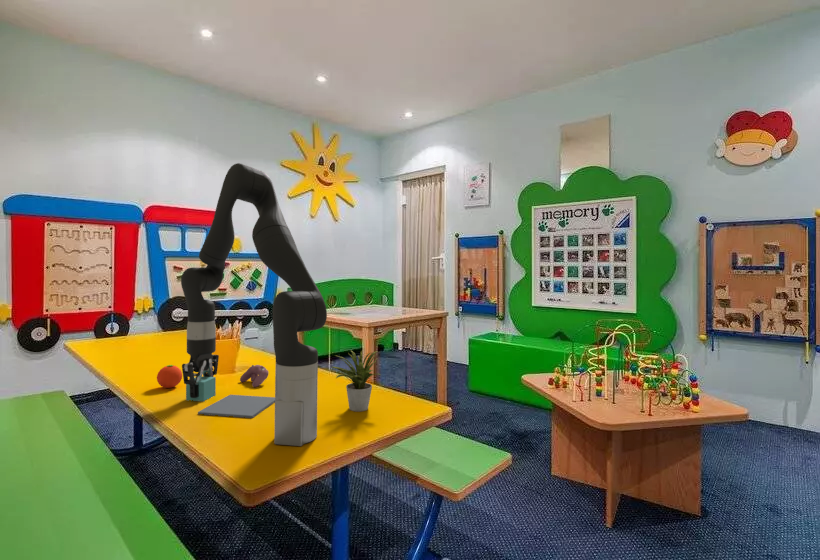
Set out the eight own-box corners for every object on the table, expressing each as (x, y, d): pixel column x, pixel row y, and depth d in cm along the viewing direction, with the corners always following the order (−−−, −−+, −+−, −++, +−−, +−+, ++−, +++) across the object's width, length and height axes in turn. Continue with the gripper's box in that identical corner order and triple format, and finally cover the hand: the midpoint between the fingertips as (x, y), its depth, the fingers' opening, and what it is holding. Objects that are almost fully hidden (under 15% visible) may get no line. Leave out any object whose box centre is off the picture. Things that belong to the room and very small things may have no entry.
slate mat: (252, 418, 106) (252, 415, 106) (197, 414, 108) (197, 412, 108) (278, 399, 121) (278, 397, 121) (230, 396, 123) (230, 394, 123)
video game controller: (264, 390, 134) (273, 369, 136) (252, 386, 131) (261, 365, 133) (249, 384, 141) (258, 364, 143) (237, 380, 138) (247, 360, 140)
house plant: (354, 395, 126) (355, 342, 125) (394, 403, 119) (395, 347, 119) (323, 409, 113) (324, 349, 113) (365, 419, 107) (366, 355, 106)
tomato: (156, 385, 133) (156, 363, 132) (181, 382, 136) (181, 361, 136) (156, 392, 126) (156, 368, 126) (182, 389, 129) (182, 366, 129)
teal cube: (204, 401, 118) (204, 382, 118) (186, 400, 119) (186, 381, 118) (215, 395, 123) (215, 377, 123) (198, 394, 124) (198, 376, 124)
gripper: (197, 341, 113) (197, 403, 113) (227, 333, 127) (227, 388, 128) (172, 340, 114) (172, 401, 114) (204, 332, 128) (204, 386, 129)
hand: (201, 394), depth 121 cm, fingers closed on teal cube, 5 cm apart
